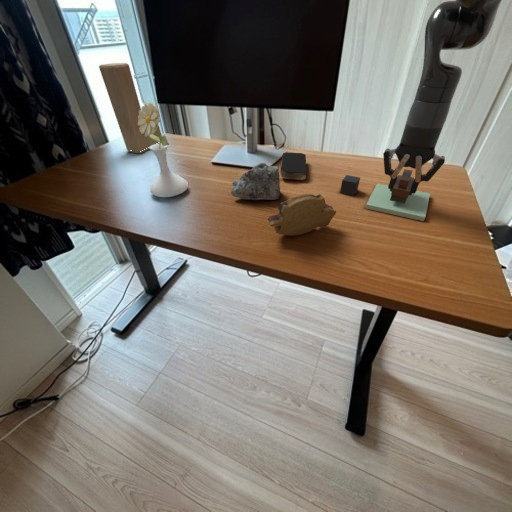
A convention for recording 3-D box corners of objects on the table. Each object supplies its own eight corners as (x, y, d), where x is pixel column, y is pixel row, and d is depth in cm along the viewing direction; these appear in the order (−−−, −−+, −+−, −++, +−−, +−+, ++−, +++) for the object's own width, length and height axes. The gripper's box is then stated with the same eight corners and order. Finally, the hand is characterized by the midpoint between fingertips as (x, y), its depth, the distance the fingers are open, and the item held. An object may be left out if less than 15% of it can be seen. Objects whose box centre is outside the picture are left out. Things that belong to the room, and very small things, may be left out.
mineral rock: (229, 200, 78) (226, 166, 71) (247, 185, 85) (245, 153, 78) (270, 209, 73) (270, 174, 66) (285, 192, 80) (286, 159, 74)
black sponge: (282, 162, 98) (282, 152, 96) (305, 162, 97) (306, 152, 95) (279, 181, 86) (279, 170, 84) (306, 182, 85) (307, 171, 83)
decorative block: (141, 154, 110) (113, 65, 91) (127, 152, 113) (97, 65, 93) (164, 142, 121) (143, 60, 101) (150, 141, 123) (128, 60, 104)
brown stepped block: (405, 203, 68) (413, 183, 65) (388, 200, 70) (395, 180, 66) (410, 189, 74) (417, 169, 70) (394, 186, 76) (400, 167, 72)
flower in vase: (147, 190, 85) (118, 100, 68) (181, 180, 89) (161, 94, 73) (159, 207, 76) (129, 108, 60) (197, 195, 80) (178, 101, 64)
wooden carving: (324, 219, 68) (329, 182, 62) (334, 228, 65) (341, 190, 59) (264, 235, 64) (264, 197, 57) (273, 246, 61) (273, 207, 54)
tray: (428, 197, 75) (430, 193, 74) (423, 221, 66) (425, 217, 65) (376, 187, 81) (377, 183, 80) (365, 208, 72) (366, 204, 71)
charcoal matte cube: (360, 177, 77) (346, 174, 79) (356, 182, 74) (342, 180, 76) (357, 190, 80) (344, 187, 81) (353, 195, 77) (339, 192, 79)
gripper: (388, 123, 61) (369, 192, 72) (461, 130, 55) (429, 204, 66) (393, 115, 66) (375, 181, 77) (462, 121, 60) (432, 191, 71)
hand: (401, 191), depth 71 cm, fingers closed on brown stepped block, 4 cm apart
